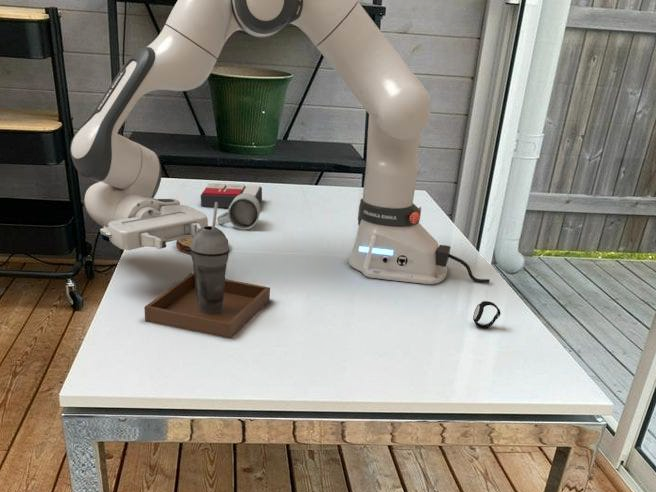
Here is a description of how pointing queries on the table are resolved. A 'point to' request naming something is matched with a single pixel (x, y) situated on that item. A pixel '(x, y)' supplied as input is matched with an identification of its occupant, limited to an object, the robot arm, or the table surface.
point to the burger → (185, 244)
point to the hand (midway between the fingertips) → (183, 239)
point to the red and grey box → (227, 194)
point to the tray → (183, 313)
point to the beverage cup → (209, 266)
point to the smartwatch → (479, 313)
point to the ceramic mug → (242, 212)
